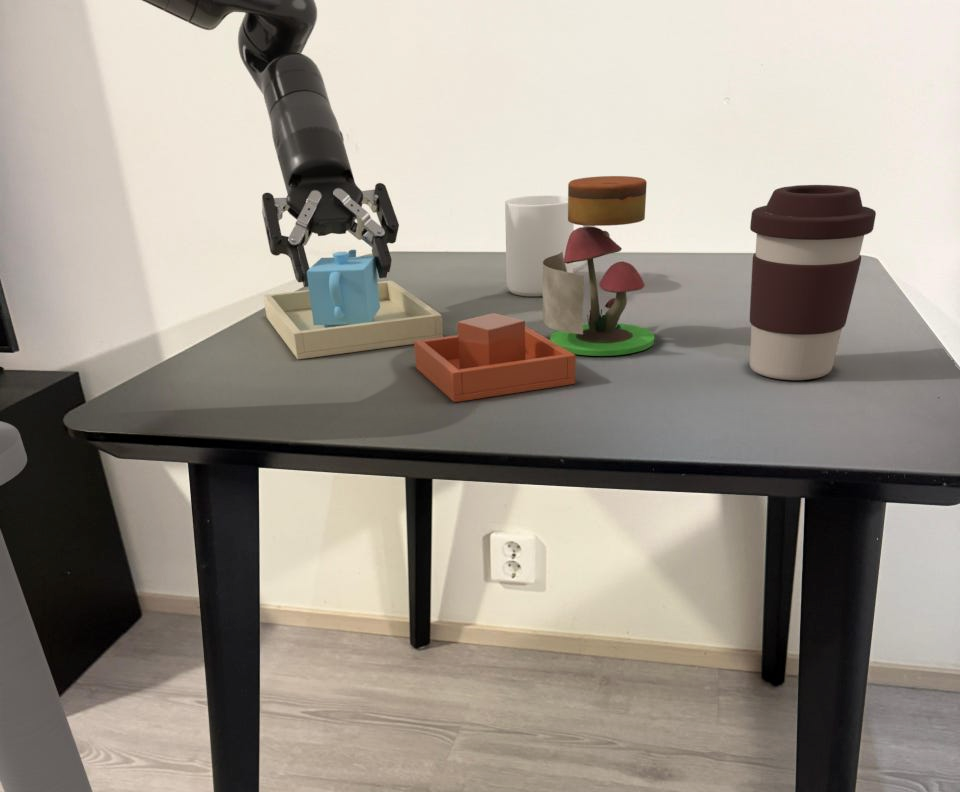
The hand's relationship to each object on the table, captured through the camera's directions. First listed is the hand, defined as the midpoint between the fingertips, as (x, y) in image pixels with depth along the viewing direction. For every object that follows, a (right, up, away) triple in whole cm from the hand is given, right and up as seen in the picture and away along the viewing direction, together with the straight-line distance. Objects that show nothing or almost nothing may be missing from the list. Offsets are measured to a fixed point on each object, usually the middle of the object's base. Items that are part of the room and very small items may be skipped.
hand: (346, 278), depth 99 cm
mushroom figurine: (+27, -8, -4) cm, 28 cm away
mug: (+24, +5, +17) cm, 30 cm away
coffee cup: (+43, -14, -15) cm, 48 cm away
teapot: (0, -4, +4) cm, 5 cm away
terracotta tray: (+16, -14, -13) cm, 25 cm away
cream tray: (0, -4, +4) cm, 6 cm away
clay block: (+16, -14, -13) cm, 25 cm away
